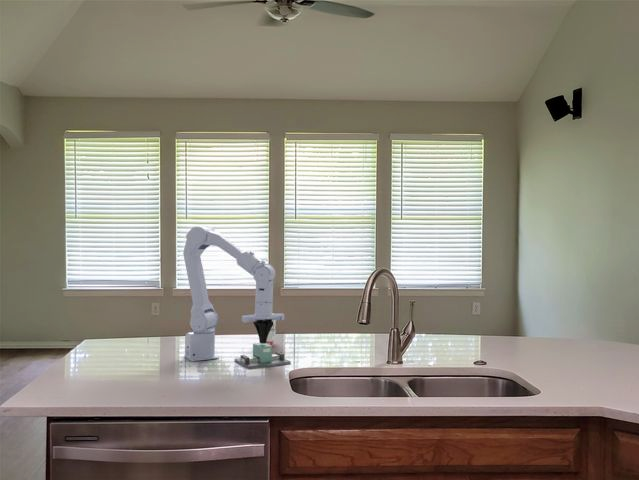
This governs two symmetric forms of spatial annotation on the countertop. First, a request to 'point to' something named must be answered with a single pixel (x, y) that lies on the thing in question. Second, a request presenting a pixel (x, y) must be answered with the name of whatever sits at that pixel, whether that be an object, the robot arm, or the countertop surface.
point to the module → (262, 352)
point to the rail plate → (254, 362)
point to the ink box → (272, 334)
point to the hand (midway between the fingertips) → (262, 343)
